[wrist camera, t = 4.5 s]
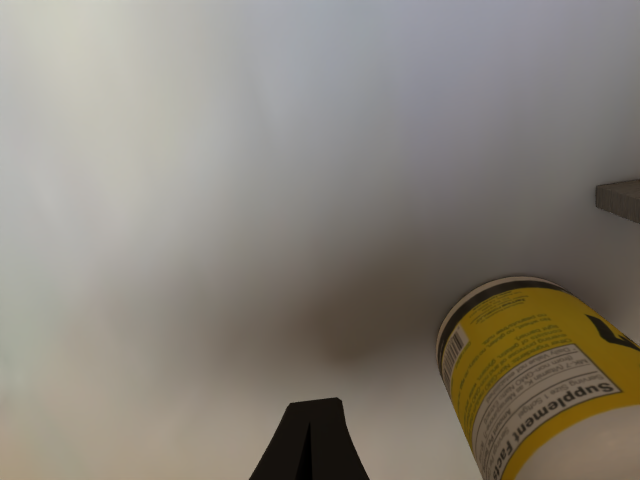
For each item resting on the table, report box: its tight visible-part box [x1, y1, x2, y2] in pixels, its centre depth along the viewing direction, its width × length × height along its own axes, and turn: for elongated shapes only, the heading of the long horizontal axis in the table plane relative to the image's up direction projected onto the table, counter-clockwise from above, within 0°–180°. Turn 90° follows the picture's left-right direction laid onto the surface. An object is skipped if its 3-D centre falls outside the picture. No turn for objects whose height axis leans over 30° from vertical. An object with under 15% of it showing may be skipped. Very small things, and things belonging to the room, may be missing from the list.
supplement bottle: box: [436, 276, 640, 480], centre depth 9 cm, size 5×5×8 cm
